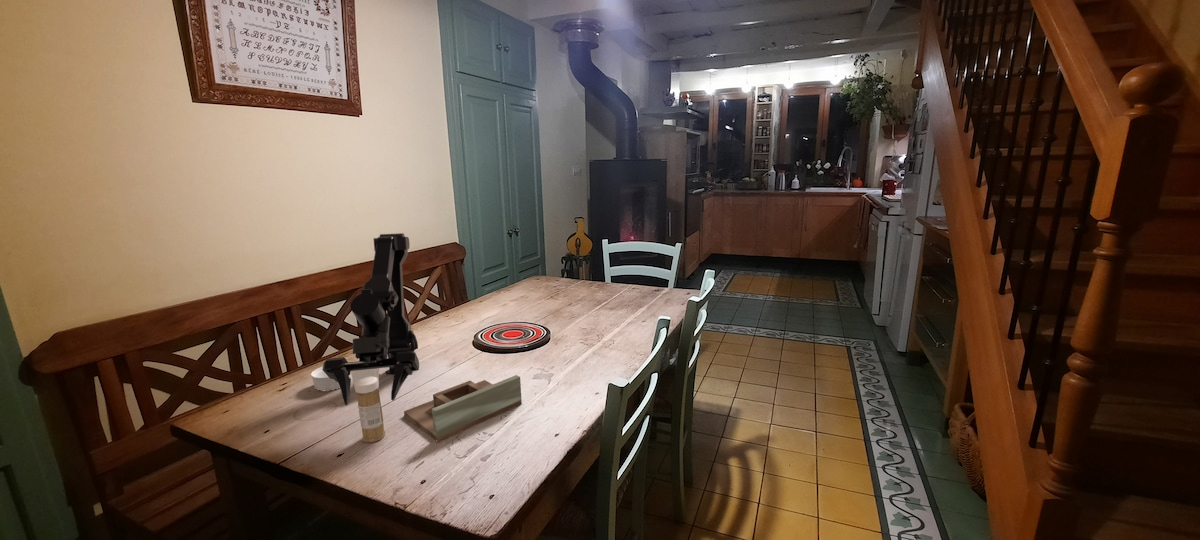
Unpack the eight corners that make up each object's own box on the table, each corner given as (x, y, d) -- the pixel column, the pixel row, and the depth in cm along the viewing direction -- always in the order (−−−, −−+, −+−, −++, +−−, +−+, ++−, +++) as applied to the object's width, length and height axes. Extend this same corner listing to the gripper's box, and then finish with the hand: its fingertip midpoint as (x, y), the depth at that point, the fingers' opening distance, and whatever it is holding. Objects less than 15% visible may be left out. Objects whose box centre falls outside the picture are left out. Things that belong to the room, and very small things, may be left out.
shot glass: (387, 384, 130) (384, 360, 129) (367, 396, 124) (364, 371, 122) (367, 381, 132) (363, 357, 131) (346, 392, 126) (343, 367, 124)
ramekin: (308, 386, 130) (305, 371, 130) (343, 375, 137) (341, 360, 136) (319, 396, 125) (317, 380, 124) (355, 384, 131) (353, 369, 130)
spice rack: (404, 415, 114) (401, 387, 112) (484, 384, 130) (482, 358, 128) (438, 442, 103) (435, 411, 102) (521, 404, 119) (520, 376, 117)
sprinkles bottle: (386, 430, 108) (378, 374, 105) (384, 440, 104) (377, 383, 101) (363, 434, 107) (355, 377, 104) (361, 445, 103) (352, 386, 100)
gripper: (318, 323, 103) (308, 395, 95) (411, 316, 107) (408, 384, 99) (335, 345, 113) (326, 412, 105) (420, 337, 116) (418, 401, 108)
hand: (369, 402), depth 104 cm, fingers open, 9 cm apart
